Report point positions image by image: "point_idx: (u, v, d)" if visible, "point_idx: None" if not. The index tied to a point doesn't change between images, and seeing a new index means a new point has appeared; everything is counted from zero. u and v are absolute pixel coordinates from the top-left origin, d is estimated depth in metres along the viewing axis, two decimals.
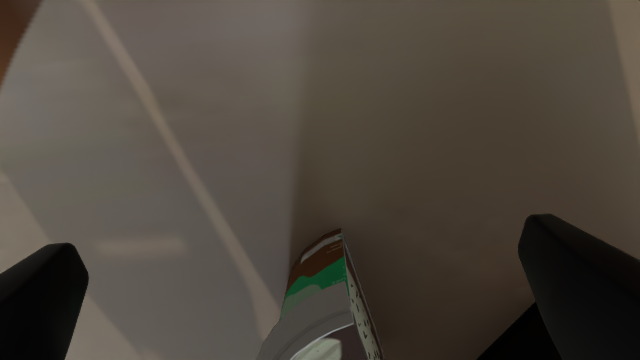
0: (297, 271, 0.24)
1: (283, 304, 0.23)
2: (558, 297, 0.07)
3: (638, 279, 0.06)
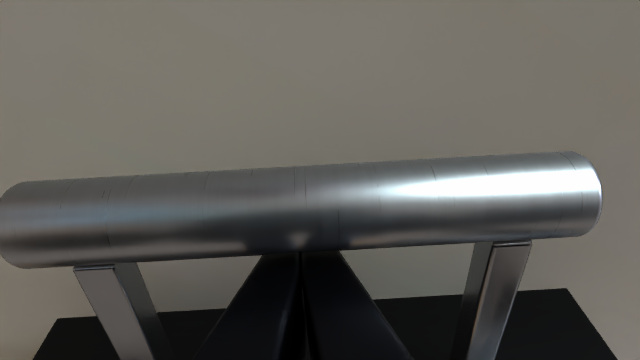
0: None
1: None
2: (305, 313, 0.07)
3: (332, 298, 0.06)
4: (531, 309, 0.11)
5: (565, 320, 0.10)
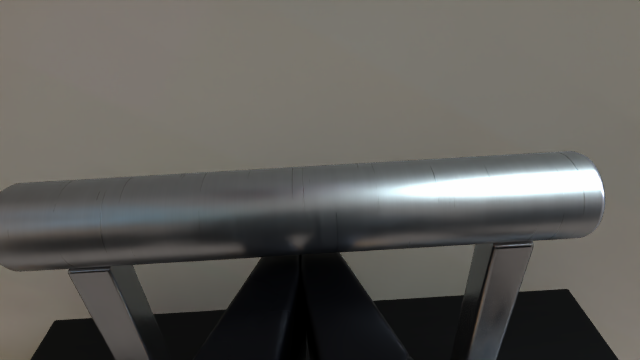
0: None
1: None
2: (305, 313, 0.07)
3: (331, 298, 0.06)
4: (532, 310, 0.11)
5: (566, 321, 0.10)
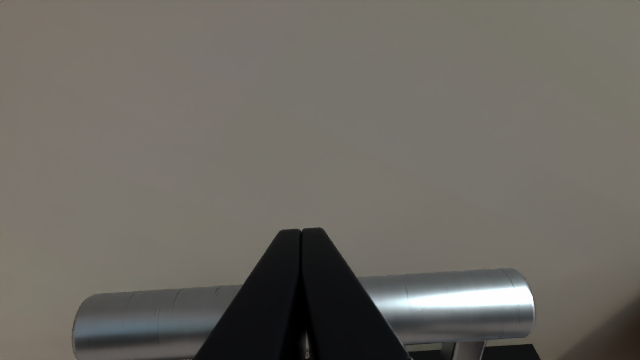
0: None
1: None
2: (305, 313, 0.07)
3: (332, 298, 0.06)
4: None
5: None
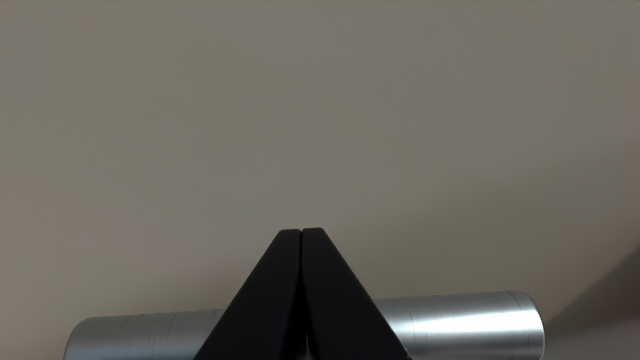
0: None
1: None
2: (305, 313, 0.07)
3: (332, 298, 0.06)
4: None
5: None
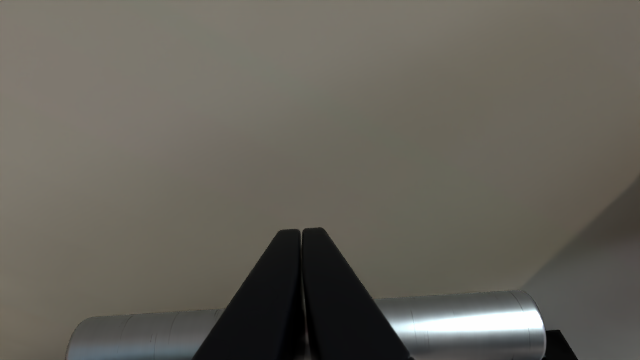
0: None
1: None
2: None
3: (333, 298, 0.06)
4: None
5: None
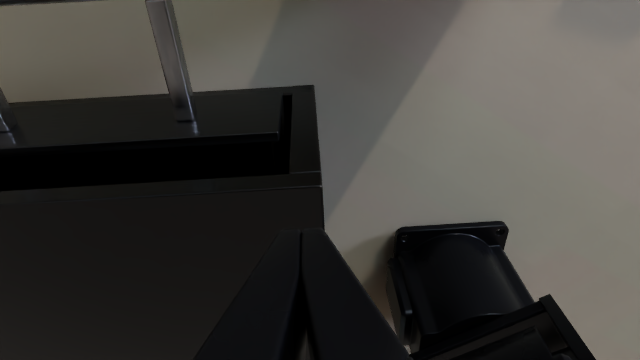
0: None
1: None
2: (305, 313, 0.07)
3: (331, 298, 0.06)
4: (250, 98, 0.17)
5: (266, 100, 0.17)
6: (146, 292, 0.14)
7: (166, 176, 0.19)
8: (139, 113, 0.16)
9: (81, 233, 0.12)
